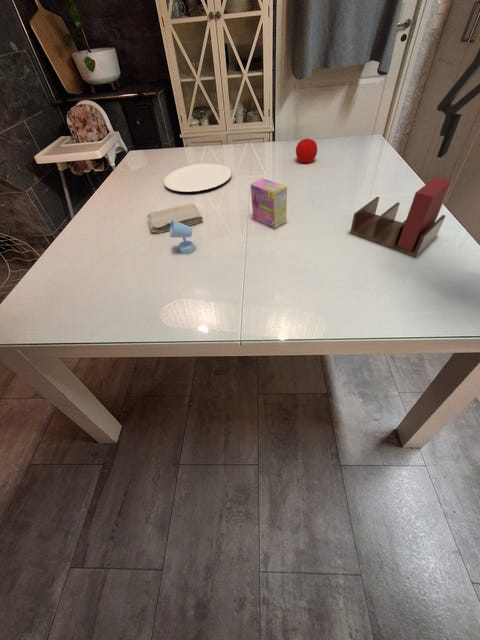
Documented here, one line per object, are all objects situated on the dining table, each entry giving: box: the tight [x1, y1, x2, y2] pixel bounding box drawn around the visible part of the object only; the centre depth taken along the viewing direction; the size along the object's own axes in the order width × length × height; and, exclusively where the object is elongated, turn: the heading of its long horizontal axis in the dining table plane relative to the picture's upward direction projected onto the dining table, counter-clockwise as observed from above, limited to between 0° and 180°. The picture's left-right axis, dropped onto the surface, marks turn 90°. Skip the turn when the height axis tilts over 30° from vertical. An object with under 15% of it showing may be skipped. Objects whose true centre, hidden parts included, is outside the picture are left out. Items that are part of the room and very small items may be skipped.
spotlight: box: [169, 220, 195, 255], centre depth 88 cm, size 5×10×7 cm
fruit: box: [295, 136, 318, 164], centre depth 128 cm, size 9×9×10 cm
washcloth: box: [146, 203, 203, 234], centre depth 103 cm, size 12×18×3 cm, turn 109°
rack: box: [349, 196, 446, 258], centre depth 85 cm, size 20×13×6 cm, turn 44°
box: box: [250, 178, 288, 229], centre depth 95 cm, size 10×6×12 cm, turn 42°
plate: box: [163, 162, 232, 193], centre depth 127 cm, size 29×29×2 cm
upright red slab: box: [397, 176, 453, 251], centre depth 78 cm, size 4×11×15 cm, turn 134°
